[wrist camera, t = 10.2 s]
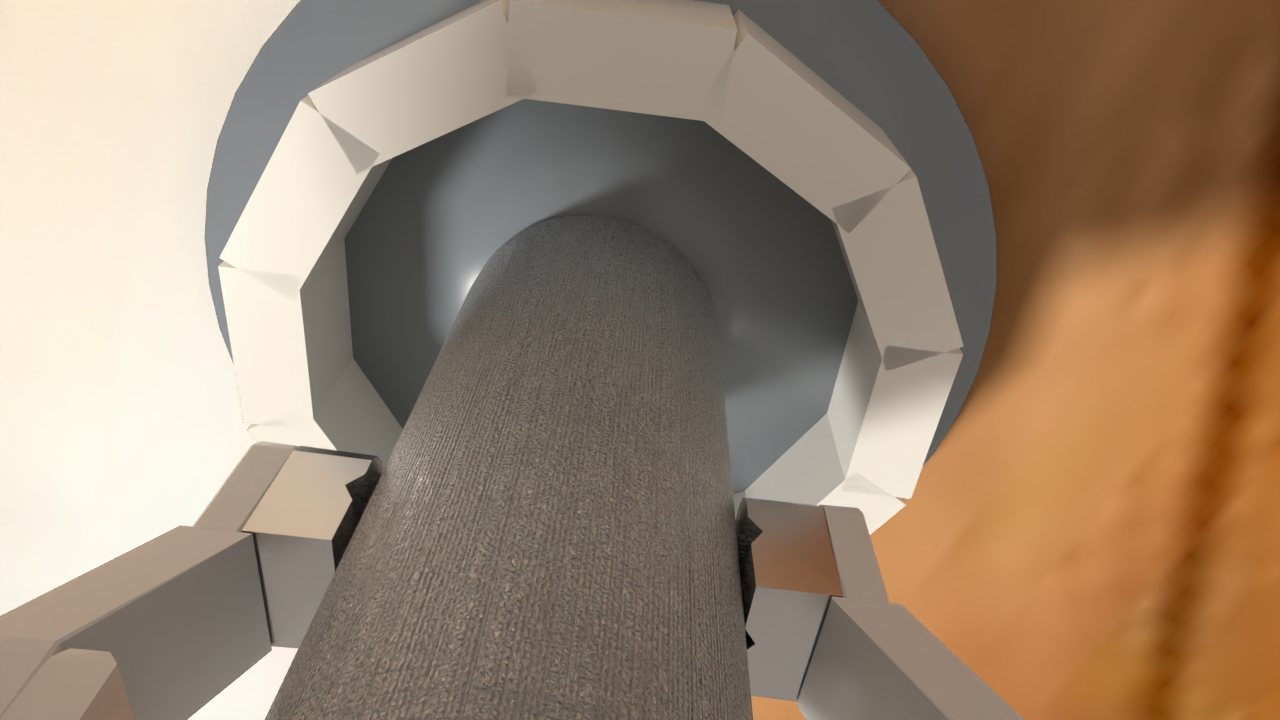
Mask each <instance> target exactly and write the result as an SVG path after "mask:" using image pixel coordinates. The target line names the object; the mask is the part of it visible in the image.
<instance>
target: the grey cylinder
mask: <svg viewBox="0 0 1280 720" xmlns="http://www.w3.org/2000/svg"><path fill="white" fill-rule="evenodd" d="M265 720H753V714H752V703H751V691H750V680H749V669H748V657H747V646H746V635H745V624H744V612H743V601H742V590H741V578H740V567H739V556H738V545H737V533H736V522H735V511H734V499H733V488H732V477H731V466H730V454H729V443H728V432H727V420H726V409H725V398H724V387H723V375H722V364H721V353H720V341H719V331H718V326H717V321H716V316H715V311H714V306H713V303H712V299H711V296H710V294H709V291H708V289H707V287H706V285H705V283H704V281H703V279H702V278H701V276H700V274H699V273H698V271H697V270H696V268H695V267H694V266H693V264H692V263H691V262H690V261H689V260H688V259H687V258H686V257H685V256H684V255H683V254H682V253H681V252H680V251H679V250H678V249H677V248H676V247H675V246H674V245H672V244H671V243H670V242H668V241H667V240H666V239H664V238H663V237H661V236H659V235H658V234H656V233H654V232H652V231H650V230H648V229H646V228H644V227H642V226H639V225H637V224H634V223H631V222H628V221H625V220H621V219H617V218H611V217H605V216H597V215H575V216H567V217H561V218H555V219H551V220H548V221H544V222H541V223H539V224H536V225H534V226H532V227H529V228H527V229H525V230H523V231H522V232H520V233H518V234H516V235H515V236H513V237H512V238H510V239H509V240H508V241H507V242H505V243H504V244H503V245H502V246H501V247H500V248H499V249H498V250H497V251H496V252H495V253H494V254H493V255H492V256H491V257H490V258H489V260H488V261H487V262H486V264H485V265H484V267H483V268H482V270H481V271H480V273H479V275H478V276H477V278H476V279H475V281H474V283H473V284H472V286H471V288H470V290H469V292H468V294H467V296H466V298H465V300H464V302H463V305H462V307H461V309H460V311H459V313H458V315H457V317H456V319H455V321H454V323H453V326H452V328H451V330H450V332H449V334H448V336H447V338H446V340H445V342H444V344H443V347H442V349H441V351H440V353H439V355H438V357H437V359H436V361H435V363H434V365H433V368H432V370H431V372H430V374H429V376H428V378H427V380H426V382H425V384H424V386H423V389H422V391H421V393H420V395H419V397H418V399H417V401H416V403H415V405H414V407H413V410H412V412H411V414H410V416H409V418H408V420H407V422H406V424H405V426H404V428H403V431H402V433H401V435H400V437H399V439H398V441H397V443H396V445H395V447H394V449H393V452H392V454H391V456H390V458H389V460H388V462H387V464H386V466H385V468H384V470H383V473H382V475H381V477H380V479H379V481H378V483H377V485H376V487H375V489H374V491H373V494H372V496H371V498H370V500H369V502H368V504H367V506H366V508H365V510H364V512H363V515H362V517H361V519H360V521H359V523H358V525H357V527H356V529H355V531H354V533H353V536H352V538H351V540H350V542H349V544H348V546H347V548H346V550H345V552H344V554H343V557H342V559H341V561H340V563H339V565H338V567H337V569H336V571H335V573H334V575H333V578H332V580H331V582H330V584H329V586H328V588H327V590H326V592H325V594H324V597H323V599H322V601H321V603H320V605H319V607H318V609H317V611H316V613H315V615H314V618H313V620H312V622H311V624H310V626H309V628H308V630H307V632H306V634H305V636H304V639H303V641H302V643H301V645H300V647H299V649H298V651H297V653H296V655H295V657H294V660H293V662H292V664H291V666H290V668H289V670H288V672H287V674H286V676H285V678H284V681H283V683H282V685H281V687H280V689H279V691H278V693H277V695H276V697H275V699H274V702H273V704H272V706H271V708H270V710H269V712H268V714H267V716H266V718H265Z"/></svg>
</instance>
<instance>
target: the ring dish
mask: <svg viewBox="0 0 1280 720" xmlns="http://www.w3.org/2000/svg"><path fill="white" fill-rule="evenodd" d="M575 215H597V216H605V217H611V218H617V219H621V220H625V221H628V222H631V223H634V224H637V225H639V226H642V227H644V228H646V229H648V230H650V231H652V232H654V233H656V234H658V235H659V236H661V237H663V238H664V239H666V240H667V241H668V242H670V243H671V244H672V245H674V246H675V247H676V248H677V249H678V250H679V251H680V252H681V253H682V254H683V255H684V256H685V257H686V258H687V259H688V260H689V261H690V262H691V263H692V264H693V266H694V267H695V268H696V270H697V271H698V273H699V274H700V276H701V278H702V279H703V281H704V283H705V285H706V287H707V289H708V291H709V294H710V296H711V299H712V303H713V306H714V311H715V316H716V321H717V326H718V331H719V341H720V353H721V364H722V375H723V387H724V398H725V409H726V420H727V432H728V443H729V454H730V466H731V477H732V488H733V499H734V511H735V520H736V516H737V512H738V508H739V505H740V502H741V500H742V498H743V497H745V498H755V499H764V500H774V501H783V502H792V503H802V504H811V505H818V506H819V505H820V504H821V505H832V506H843V507H854V508H859V509H860V510H861V511H862V512H863V514H864V517H865V521H866V524H867V528H868V531H869V534H872V533H873V532H874V531H875V530H876V529H878V528H879V527H880V526H881V525H883V524H884V523H885V522H886V521H887V520H889V519H890V518H891V517H892V516H893V515H895V514H896V513H897V512H898V511H900V510H901V509H902V508H903V507H904V506H906V503H905V500H904V498H907V499H911V497H912V494H913V491H914V488H915V486H916V483H917V480H918V477H919V475H920V472H921V469H922V467H923V465H924V464H925V463H926V462H927V461H928V459H929V458H930V457H931V456H932V455H933V453H934V452H935V451H936V449H937V448H938V446H939V444H940V443H941V441H942V440H943V438H944V437H945V435H946V433H947V432H948V430H949V429H950V427H951V425H952V424H953V422H954V421H955V419H956V418H957V416H958V414H959V412H960V410H961V408H962V405H963V403H964V401H965V399H966V397H967V395H968V392H969V390H970V388H971V386H972V384H973V382H974V379H975V377H976V375H977V372H978V368H979V365H980V362H981V358H982V355H983V352H984V348H985V345H986V342H987V338H988V335H989V332H990V325H991V319H992V312H993V305H994V298H995V291H996V231H995V224H994V218H993V212H992V205H991V199H990V192H989V186H988V183H987V180H986V177H985V174H984V170H983V167H982V164H981V161H980V158H979V155H978V152H977V148H976V145H975V142H974V139H973V136H972V134H971V132H970V130H969V128H968V126H967V124H966V122H965V120H964V118H963V116H962V114H961V112H960V110H959V108H958V106H957V104H956V102H955V100H954V98H953V96H952V94H951V92H950V90H949V88H948V86H947V85H946V83H945V82H944V80H943V79H942V77H941V76H940V75H939V73H938V72H937V70H936V69H935V68H934V66H933V65H932V63H931V62H930V61H929V59H928V58H927V56H926V55H925V53H924V52H923V51H922V49H921V48H920V46H919V45H918V44H917V42H916V41H915V39H914V38H913V37H912V36H911V35H910V34H909V33H908V32H907V31H906V30H905V29H904V28H903V27H902V26H901V25H900V24H899V23H898V22H897V21H896V20H895V19H894V18H893V17H892V16H891V15H890V13H889V12H888V11H887V10H886V9H885V8H884V7H883V6H882V5H881V4H880V3H879V2H878V1H877V0H301V1H300V2H299V3H298V4H297V5H296V6H295V7H294V8H293V10H292V11H291V12H290V13H289V15H288V16H287V17H286V18H285V19H284V21H283V22H282V23H281V24H280V26H279V27H278V28H277V29H276V30H275V32H274V33H273V34H272V35H271V37H270V38H269V39H268V40H267V41H266V43H265V44H264V45H263V46H262V48H261V50H260V51H259V53H258V55H257V57H256V58H255V60H254V62H253V63H252V65H251V67H250V69H249V70H248V72H247V74H246V76H245V77H244V79H243V81H242V83H241V84H240V86H239V88H238V89H237V91H236V93H235V96H234V98H233V101H232V103H231V106H230V109H229V111H228V114H227V117H226V119H225V122H224V125H223V127H222V130H221V133H220V135H219V138H218V140H217V145H216V150H215V154H214V159H213V164H212V169H211V174H210V179H209V183H208V188H207V204H206V223H205V245H206V256H207V266H208V277H209V285H210V290H211V294H212V298H213V302H214V306H215V310H216V315H217V319H218V323H219V327H220V330H221V333H222V336H223V338H224V341H225V343H226V346H227V349H228V351H229V354H230V356H231V359H232V361H233V364H234V369H235V375H236V381H237V387H238V394H239V400H240V406H241V412H242V419H243V423H250V424H251V425H250V426H249V427H248V429H247V431H248V432H249V434H250V435H251V436H252V437H253V439H254V440H255V441H256V442H257V443H258V442H260V441H265V442H273V443H280V444H288V445H296V446H299V447H300V446H307V447H315V448H322V449H330V450H337V451H344V452H352V453H359V454H367V455H374V456H378V457H379V458H380V459H381V460H382V464H383V470H384V468H385V466H386V464H387V462H388V460H389V458H390V456H391V454H392V452H393V449H394V447H395V445H396V443H397V441H398V439H399V437H400V435H401V433H402V431H403V428H404V426H405V424H406V422H407V420H408V418H409V416H410V414H411V412H412V410H413V407H414V405H415V403H416V401H417V399H418V397H419V395H420V393H421V391H422V389H423V386H424V384H425V382H426V380H427V378H428V376H429V374H430V372H431V370H432V368H433V365H434V363H435V361H436V359H437V357H438V355H439V353H440V351H441V349H442V347H443V344H444V342H445V340H446V338H447V336H448V334H449V332H450V330H451V328H452V326H453V323H454V321H455V319H456V317H457V315H458V313H459V311H460V309H461V307H462V305H463V302H464V300H465V298H466V296H467V294H468V292H469V290H470V288H471V286H472V284H473V283H474V281H475V279H476V278H477V276H478V275H479V273H480V271H481V270H482V268H483V267H484V265H485V264H486V262H487V261H488V260H489V258H490V257H491V256H492V255H493V254H494V253H495V252H496V251H497V250H498V249H499V248H500V247H501V246H502V245H503V244H504V243H505V242H507V241H508V240H509V239H510V238H512V237H513V236H515V235H516V234H518V233H520V232H522V231H523V230H525V229H527V228H529V227H532V226H534V225H536V224H539V223H541V222H544V221H548V220H551V219H555V218H561V217H567V216H575Z"/></svg>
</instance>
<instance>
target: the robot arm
mask: <svg viewBox="0 0 1280 720" xmlns="http://www.w3.org/2000/svg"><path fill="white" fill-rule="evenodd" d="M382 473H383V464H382V460H381V459H380V458H379V457H378V456H374V455H367V454H359V453H352V452H344V451H337V450H330V449H322V448H315V447H307V446H300V447H299V446H296V445H288V444H280V443H273V442H265V441H260V442H258V443H256V444H254V445H252V446H251V447H250V448H249V450H248V451H247V452H246V454H245V455H244V456H243V458H242V459H241V461H240V462H239V463H238V465H237V466H236V467H235V469H234V470H233V472H232V473H231V474H230V476H229V477H228V479H227V480H226V481H225V483H224V484H223V485H222V487H221V488H220V490H219V491H218V492H217V494H216V495H215V496H214V498H213V499H212V501H211V502H210V503H209V505H208V506H207V508H206V509H205V510H204V512H203V513H202V514H201V516H200V517H199V519H198V520H197V521H196V523H195V524H194V525H193V527H189V526H179V527H177V528H175V529H173V530H171V531H169V532H167V533H165V534H163V535H161V536H159V537H157V538H155V539H153V540H151V541H149V542H147V543H145V544H143V545H141V546H139V547H137V548H135V549H133V550H131V551H129V552H127V553H125V554H123V555H121V556H119V557H117V558H115V559H113V560H111V561H109V562H107V563H105V564H103V565H101V566H99V567H97V568H95V569H93V570H91V571H89V572H87V573H85V574H83V575H81V576H79V577H77V578H75V579H73V580H71V581H69V582H67V583H65V584H63V585H61V586H59V587H57V588H55V589H53V590H51V591H49V592H47V593H45V594H43V595H41V596H39V597H37V598H35V599H33V600H31V601H29V602H27V603H25V604H24V605H22V606H20V607H18V608H16V609H14V610H12V611H10V612H8V613H6V614H4V615H2V616H0V720H187V719H188V718H189V717H191V716H192V715H193V714H194V713H196V712H197V711H198V710H199V709H200V708H202V707H203V706H204V705H205V704H207V703H208V702H209V701H210V700H211V699H213V698H214V697H215V696H216V695H218V694H219V693H220V692H221V691H222V690H224V689H225V688H226V687H227V686H229V685H230V684H231V683H232V682H233V681H235V680H236V679H237V678H238V677H240V676H241V675H242V674H243V673H244V672H246V671H247V670H248V669H249V668H251V667H252V666H253V665H254V664H255V663H257V662H258V661H259V660H260V659H262V658H263V657H264V656H265V655H266V654H268V653H269V652H270V651H271V650H272V648H271V646H276V647H289V648H299V647H300V645H301V643H302V641H303V639H304V636H305V634H306V632H307V630H308V628H309V626H310V624H311V622H312V620H313V618H314V615H315V613H316V611H317V609H318V607H319V605H320V603H321V601H322V599H323V597H324V594H325V592H326V590H327V588H328V586H329V584H330V582H331V580H332V578H333V575H334V573H335V571H336V569H337V567H338V565H339V563H340V561H341V559H342V557H343V554H344V552H345V550H346V548H347V546H348V544H349V542H350V540H351V538H352V536H353V533H354V531H355V529H356V527H357V525H358V523H359V521H360V519H361V517H362V515H363V512H364V510H365V508H366V506H367V504H368V502H369V500H370V498H371V496H372V494H373V491H374V489H375V487H376V485H377V483H378V481H379V479H380V477H381V475H382ZM735 522H736V533H737V545H738V556H739V567H740V578H741V590H742V601H743V612H744V624H745V635H746V646H747V657H748V669H749V680H750V691H751V696H758V697H766V698H773V699H781V700H788V701H796V702H797V704H796V705H797V707H798V708H799V709H800V711H801V712H802V714H803V715H804V717H805V718H806V720H1024V719H1023V718H1022V717H1021V716H1020V715H1019V714H1018V713H1017V712H1016V711H1015V710H1014V709H1013V708H1012V707H1010V706H1009V705H1008V704H1007V703H1006V702H1005V701H1004V700H1003V699H1002V698H1001V697H1000V696H999V695H998V694H997V693H995V692H994V691H993V690H992V689H991V688H990V687H989V686H988V685H987V684H986V683H985V682H984V681H983V680H982V679H980V678H979V677H978V676H977V675H976V674H975V673H974V672H973V671H972V670H971V669H970V668H969V667H968V666H967V665H965V664H964V663H963V662H962V661H961V660H960V659H959V658H958V657H957V656H956V655H955V654H954V653H953V652H952V651H951V650H949V649H948V648H947V647H946V646H945V645H944V644H943V643H942V642H941V641H940V640H939V639H938V638H937V637H936V636H934V635H933V634H932V633H931V632H930V631H929V630H928V629H927V628H926V627H925V626H924V625H923V624H922V623H921V622H919V621H918V620H917V619H916V618H915V617H914V616H913V615H912V614H911V613H910V612H909V611H908V610H907V609H906V608H904V607H903V606H902V605H901V604H893V603H889V599H888V596H887V592H886V589H885V586H884V582H883V579H882V575H881V572H880V569H879V565H878V562H877V558H876V555H875V551H874V548H873V545H872V541H871V538H870V534H869V531H868V528H867V524H866V521H865V517H864V514H863V512H862V511H861V510H860V509H859V508H854V507H843V506H832V505H821V504H820V505H819V506H818V505H811V504H802V503H792V502H783V501H774V500H764V499H755V498H745V497H743V498H742V500H741V502H740V505H739V508H738V512H737V516H736V520H735Z"/></svg>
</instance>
